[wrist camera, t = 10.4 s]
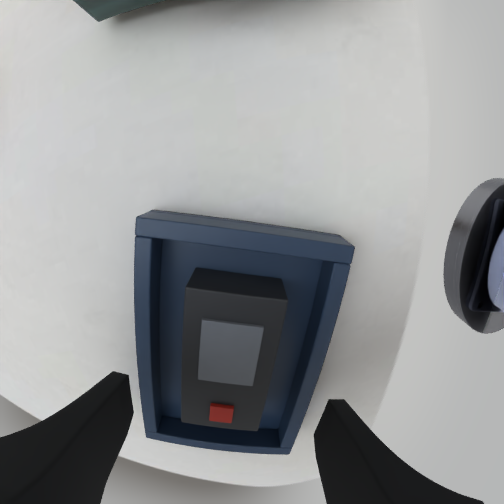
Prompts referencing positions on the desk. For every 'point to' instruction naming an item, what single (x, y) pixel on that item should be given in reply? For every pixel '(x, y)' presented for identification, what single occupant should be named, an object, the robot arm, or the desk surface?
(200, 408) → the remote
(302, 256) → the tray
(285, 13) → the desk surface
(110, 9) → the drawer
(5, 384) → the desk surface
